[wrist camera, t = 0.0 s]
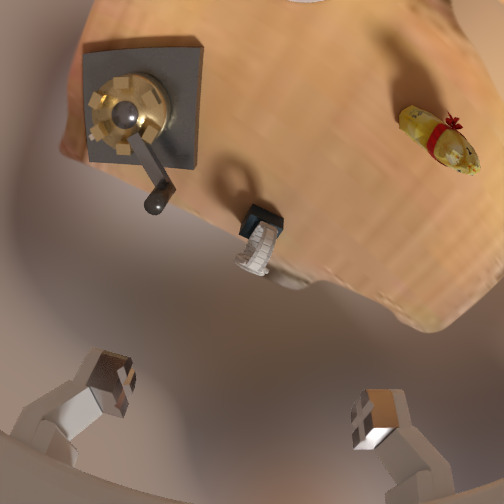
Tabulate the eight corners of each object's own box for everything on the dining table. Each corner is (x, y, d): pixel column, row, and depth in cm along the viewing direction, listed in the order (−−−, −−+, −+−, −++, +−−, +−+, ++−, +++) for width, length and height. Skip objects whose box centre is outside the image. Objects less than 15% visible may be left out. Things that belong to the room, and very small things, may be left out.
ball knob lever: (90, 97, 38) (56, 113, 32) (148, 58, 35) (118, 65, 28) (149, 196, 48) (127, 227, 42) (209, 171, 45) (194, 200, 38)
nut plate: (89, 52, 36) (81, 54, 34) (204, 47, 36) (199, 47, 34) (95, 157, 47) (88, 162, 45) (197, 164, 47) (193, 170, 45)
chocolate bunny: (444, 159, 41) (490, 209, 30) (389, 126, 40) (428, 167, 28) (464, 124, 37) (519, 164, 25) (410, 87, 36) (460, 113, 24)
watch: (236, 232, 54) (225, 276, 45) (257, 195, 49) (250, 236, 41) (266, 245, 55) (261, 291, 46) (289, 210, 50) (289, 253, 42)
